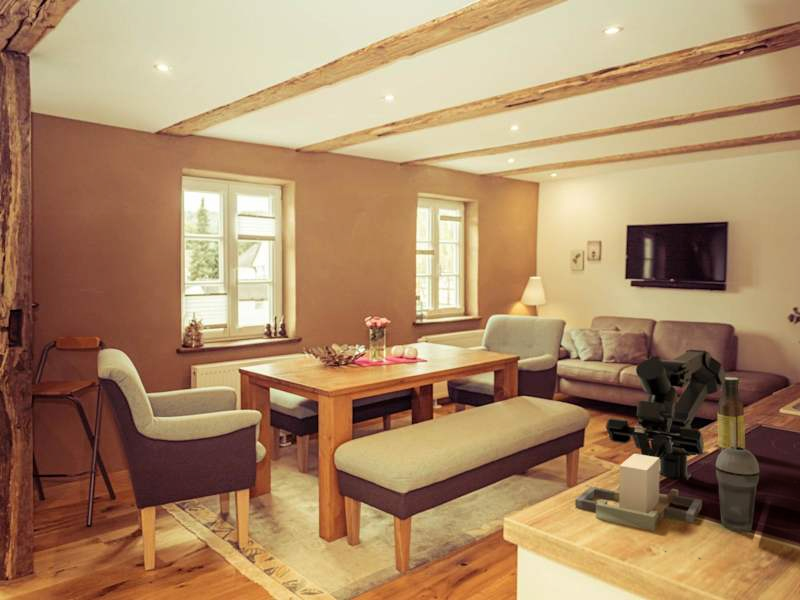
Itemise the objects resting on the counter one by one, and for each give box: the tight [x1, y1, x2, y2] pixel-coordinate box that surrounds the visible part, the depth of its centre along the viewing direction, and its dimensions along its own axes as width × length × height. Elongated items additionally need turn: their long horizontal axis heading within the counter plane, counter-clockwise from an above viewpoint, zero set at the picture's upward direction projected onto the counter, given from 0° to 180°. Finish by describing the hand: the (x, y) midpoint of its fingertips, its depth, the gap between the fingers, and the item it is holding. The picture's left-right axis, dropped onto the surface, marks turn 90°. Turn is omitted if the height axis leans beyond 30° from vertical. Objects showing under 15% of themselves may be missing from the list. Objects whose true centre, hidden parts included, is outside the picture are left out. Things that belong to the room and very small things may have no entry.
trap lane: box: [574, 486, 703, 532], centre depth 120 cm, size 21×20×4 cm
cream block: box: [618, 453, 660, 513], centre depth 120 cm, size 10×5×9 cm, turn 144°
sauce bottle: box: [717, 376, 746, 453], centre depth 160 cm, size 6×6×20 cm
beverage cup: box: [714, 422, 761, 533], centre depth 110 cm, size 7×7×20 cm
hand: (645, 470), depth 125 cm, fingers closed
